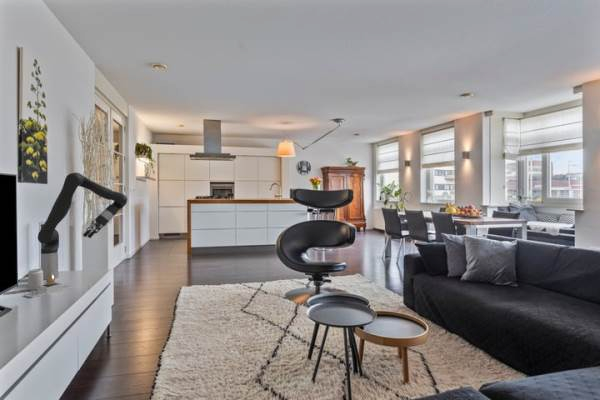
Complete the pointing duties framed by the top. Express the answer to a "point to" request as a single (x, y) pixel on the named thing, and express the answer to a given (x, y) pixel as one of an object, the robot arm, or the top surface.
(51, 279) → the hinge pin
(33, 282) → the can
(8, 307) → the top surface
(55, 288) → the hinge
